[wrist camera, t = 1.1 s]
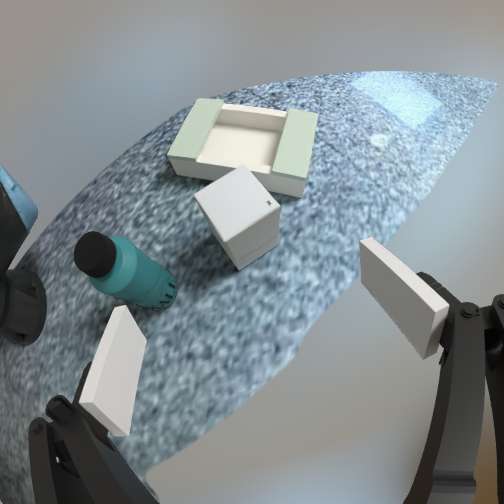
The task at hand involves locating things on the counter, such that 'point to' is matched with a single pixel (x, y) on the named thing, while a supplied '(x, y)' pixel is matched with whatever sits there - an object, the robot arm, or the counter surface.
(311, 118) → the cream green tray
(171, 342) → the counter surface
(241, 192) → the supplement box
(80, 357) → the counter surface
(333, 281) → the counter surface
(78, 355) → the counter surface
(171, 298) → the beverage bottle
